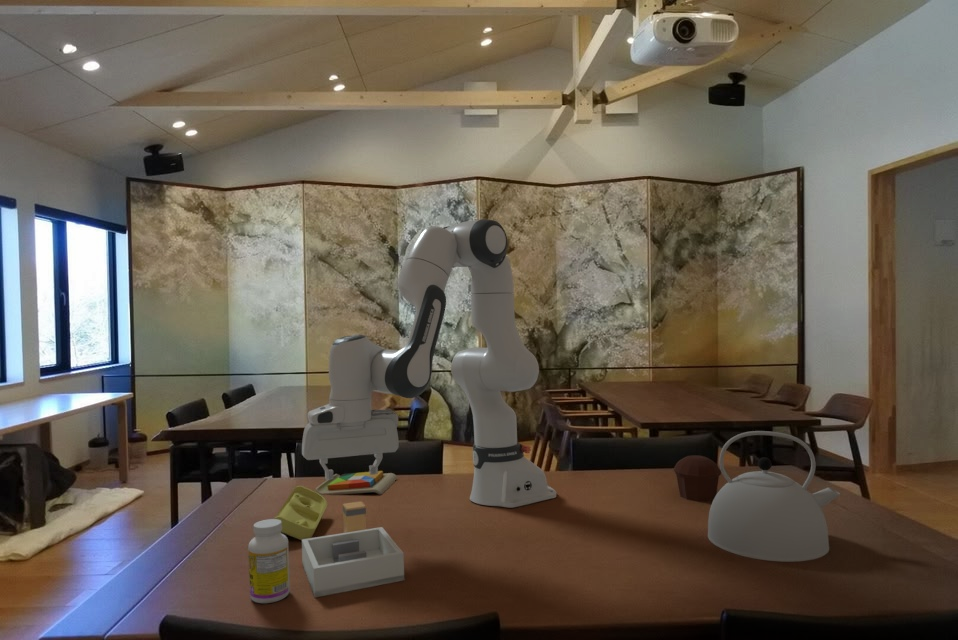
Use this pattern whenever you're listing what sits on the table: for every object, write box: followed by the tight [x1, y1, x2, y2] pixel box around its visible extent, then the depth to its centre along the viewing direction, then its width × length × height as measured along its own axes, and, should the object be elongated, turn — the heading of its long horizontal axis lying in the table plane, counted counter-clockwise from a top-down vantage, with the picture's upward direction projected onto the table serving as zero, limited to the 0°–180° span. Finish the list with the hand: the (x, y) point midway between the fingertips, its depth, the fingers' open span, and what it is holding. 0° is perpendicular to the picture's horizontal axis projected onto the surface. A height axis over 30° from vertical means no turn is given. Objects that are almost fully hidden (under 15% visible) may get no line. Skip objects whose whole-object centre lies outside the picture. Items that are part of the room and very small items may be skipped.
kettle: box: [707, 430, 841, 563], centre depth 133 cm, size 25×23×23 cm
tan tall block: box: [342, 500, 367, 533], centre depth 139 cm, size 4×4×8 cm
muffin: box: [673, 454, 722, 502], centre depth 165 cm, size 12×11×10 cm
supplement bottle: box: [247, 518, 291, 604], centre depth 113 cm, size 7×7×13 cm
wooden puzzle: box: [315, 470, 398, 496], centre depth 184 cm, size 18×19×4 cm
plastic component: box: [273, 485, 328, 541], centre depth 150 cm, size 20×7×10 cm
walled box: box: [301, 526, 405, 598], centre depth 123 cm, size 16×16×5 cm
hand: (351, 476), depth 138 cm, fingers open, 8 cm apart
